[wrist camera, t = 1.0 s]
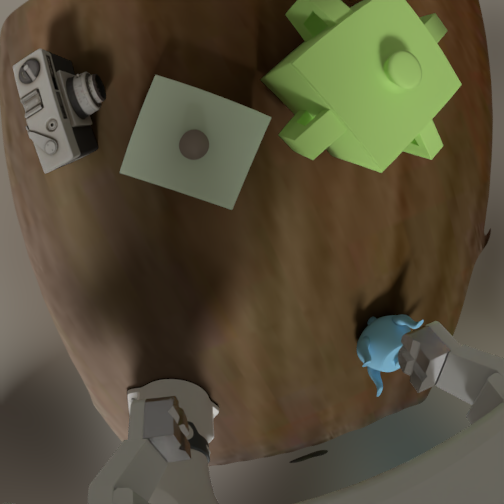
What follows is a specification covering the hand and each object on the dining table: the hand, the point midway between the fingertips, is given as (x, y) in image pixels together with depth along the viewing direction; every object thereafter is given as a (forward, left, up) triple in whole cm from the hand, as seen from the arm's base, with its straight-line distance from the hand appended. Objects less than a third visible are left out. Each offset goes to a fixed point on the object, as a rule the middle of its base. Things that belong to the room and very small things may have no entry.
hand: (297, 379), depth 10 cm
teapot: (-16, -39, -34) cm, 55 cm away
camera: (+4, +21, -35) cm, 41 cm away
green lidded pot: (+19, -9, -34) cm, 40 cm away
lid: (+4, +5, -27) cm, 28 cm away
